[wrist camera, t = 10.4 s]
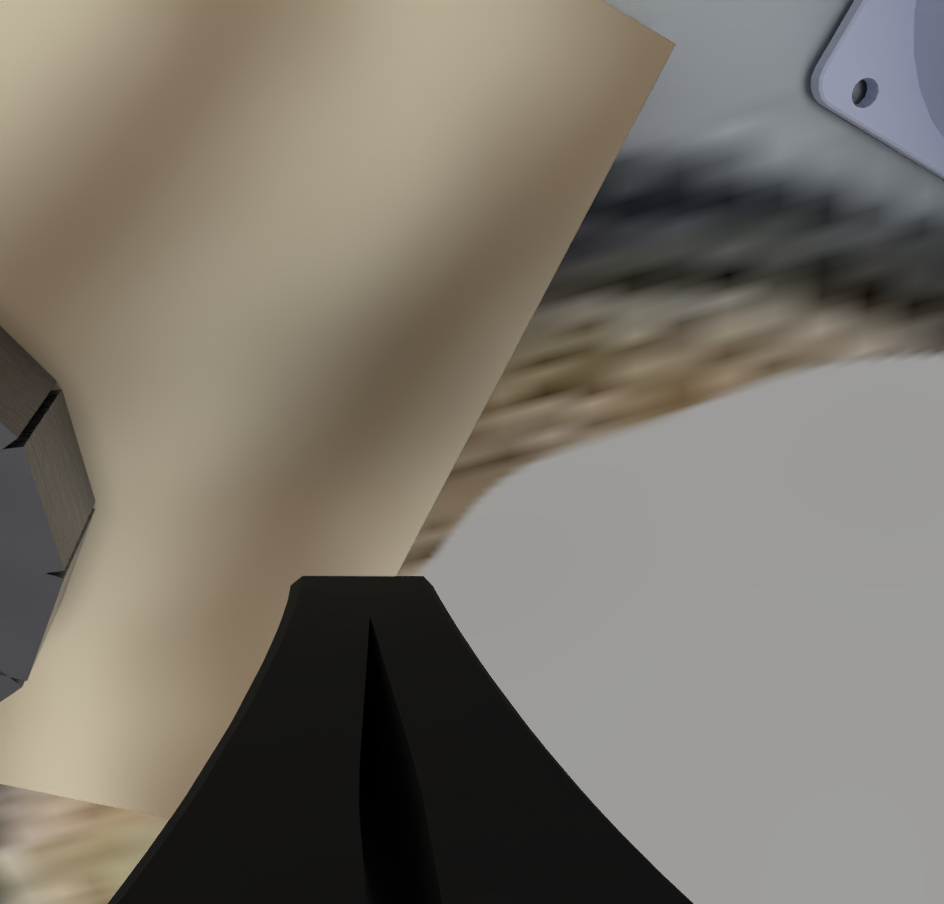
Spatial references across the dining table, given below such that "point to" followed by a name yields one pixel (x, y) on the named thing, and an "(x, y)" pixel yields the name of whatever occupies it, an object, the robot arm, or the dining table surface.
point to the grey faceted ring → (35, 508)
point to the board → (269, 313)
